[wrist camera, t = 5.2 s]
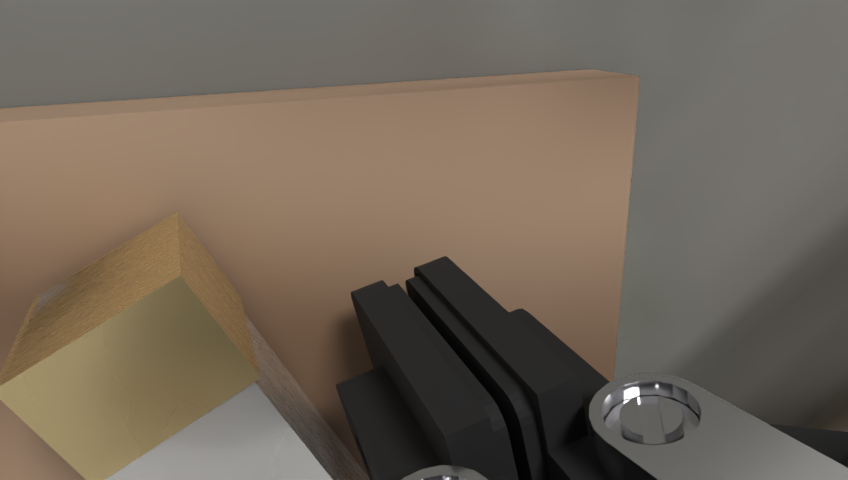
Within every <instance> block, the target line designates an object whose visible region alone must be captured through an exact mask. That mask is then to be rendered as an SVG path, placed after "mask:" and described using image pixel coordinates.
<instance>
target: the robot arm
mask: <svg viewBox="0 0 848 480" xmlns="http://www.w3.org/2000/svg"><path fill="white" fill-rule="evenodd" d="M405 283H406V289H407V293H408V295H407V293H406V292H405V291H404V290H403V289H402V287H401V286H400V285H399V284H398V283H397V284H395V285H392V286H389V287H388V286H387V284H386V283H385V282H384V281H383V280H381V281H378V282H376V283H373V284H370V285H368V286H365V287H362V288H360V289H357V290H355V291H352V292H351V298H352V302H353V305H354V308H355V312H356V315H357V318H358V321H359V324H360V327H361V331H362V334H363V337H364V340H365V343H366V346H367V350H368V353H369V356H370V359H371V362H372V365H373V369H371V370H369V371H366V372H364V373H361V374H359V375H357V376H354V377H352V378H349V379H347V380H345V381H342V382H340V383H337V384H336V388H337V391H338V394H339V397H340V400H341V403H342V406H343V409H344V412H345V415H346V417H347V420H348V423H349V426H350V429H351V431H352V434H353V437H354V440H355V442H356V445H357V448H358V450H359V453H360V455H361V458H362V460H363V463H364V465H365V468H366V470H367V473H368V475H369V478H370V480H848V432H841V431H831V430H821V429H811V428H802V427H792V426H782V425H772V424H767V423H765V422H763V421H761V420H759V419H757V418H756V417H754V416H752V415H750V414H748V413H746V412H745V411H743V410H741V409H739V408H737V407H735V406H734V405H732V404H730V403H728V402H726V401H724V400H723V399H721V398H719V397H717V396H715V395H713V394H712V393H710V392H708V391H706V390H704V389H702V388H701V387H699V386H697V385H695V384H693V383H691V382H689V381H686V380H684V379H681V378H679V377H676V376H671V375H666V374H660V373H638V374H634V375H629V376H624V377H621V378H618V379H616V380H614V381H612V382H609V381H608V380H607V379H606V378H605V377H604V376H602V375H601V374H600V373H599V372H598V371H596V370H595V369H594V368H593V367H592V366H591V365H589V364H588V363H587V362H586V361H585V360H584V359H582V358H581V357H580V356H579V355H578V354H577V353H575V352H574V351H573V350H572V349H571V348H570V347H568V346H567V345H566V344H565V343H564V342H563V341H561V340H560V339H559V338H558V337H557V336H556V335H554V334H553V333H552V332H551V331H550V330H549V329H547V328H546V327H545V326H544V325H543V324H542V323H540V322H539V321H538V320H537V319H536V318H535V317H533V316H532V315H531V314H530V313H529V312H527V311H526V310H524V309H516V310H514V311H511V312H508V311H507V310H506V309H504V308H503V307H502V306H501V305H500V304H499V303H498V302H497V301H496V300H495V299H493V298H492V297H491V296H490V295H489V294H488V293H487V292H486V291H485V290H483V289H482V288H481V287H480V286H479V285H478V284H477V283H476V282H475V281H474V280H472V279H471V278H470V277H469V276H468V275H467V274H466V273H465V272H464V271H462V270H461V269H460V268H459V267H458V266H457V265H456V264H455V263H454V262H453V261H451V260H450V259H449V258H448V257H446V256H444V257H441V258H439V259H436V260H433V261H431V262H428V263H425V264H423V265H420V266H418V267H415V268H414V277H413V278H410V279H408V280H406V282H405Z"/></svg>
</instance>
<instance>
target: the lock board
mask: <svg viewBox="0 0 848 480" xmlns="http://www.w3.org/2000/svg"><path fill="white" fill-rule="evenodd" d="M639 82H640V76H634V75H627V74H620V73H613V72H606V71H599V70H592V69H588V70H573V71H558V72H543V73H528V74H513V75H498V76H482V77H467V78H452V79H437V80H422V81H407V82H392V83H376V84H361V85H346V86H331V87H316V88H301V89H286V90H271V91H255V92H240V93H225V94H210V95H195V96H180V97H165V98H149V99H134V100H119V101H104V102H89V103H74V104H59V105H43V106H28V107H13V108H0V372H1V370H2V368H3V365H4V363H5V361H6V359H7V357H8V355H9V352H10V350H11V348H12V346H13V344H14V341H15V339H16V337H17V335H18V333H19V330H20V328H21V326H22V324H23V322H24V320H25V317H26V315H27V313H28V311H29V309H30V306H31V304H32V302H33V300H34V298H35V296H37V295H39V294H40V293H42V292H44V291H45V290H47V289H49V288H50V287H52V286H54V285H55V284H57V283H59V282H60V281H62V280H64V279H65V278H67V277H69V276H70V275H72V274H74V273H75V272H77V271H79V270H80V269H82V268H84V267H85V266H87V265H89V264H90V263H92V262H94V261H95V260H97V259H99V258H100V257H102V256H104V255H105V254H107V253H109V252H110V251H112V250H114V249H115V248H117V247H119V246H120V245H122V244H124V243H125V242H127V241H129V240H130V239H132V238H134V237H135V236H137V235H139V234H140V233H142V232H144V231H145V230H147V229H149V228H150V227H152V226H154V225H155V224H157V223H159V222H160V221H162V220H164V219H165V218H167V217H169V216H170V215H172V214H174V213H175V212H178V213H179V215H180V216H181V217H182V219H183V220H184V221H185V223H186V224H187V225H188V227H189V228H190V229H191V231H192V232H193V233H194V235H195V236H196V237H197V239H198V240H199V241H200V243H201V244H202V245H203V247H204V248H205V249H206V251H207V252H208V253H209V255H210V256H211V257H212V259H213V260H214V261H215V263H216V264H217V265H218V267H219V268H220V269H221V271H222V272H223V273H224V275H225V276H226V277H227V279H228V280H229V281H230V283H231V284H232V285H233V287H234V288H235V289H236V291H237V292H238V293H239V295H240V297H241V301H242V305H243V309H244V312H245V315H246V316H247V317H248V319H249V320H250V321H251V323H252V324H253V325H254V327H255V328H256V329H257V331H258V332H259V333H260V335H261V336H262V337H263V339H264V340H265V341H266V343H267V344H268V345H269V347H270V348H271V349H272V350H273V352H274V353H275V354H276V356H277V357H278V358H279V360H280V361H281V362H282V364H283V365H284V366H285V368H286V369H287V370H288V372H289V373H290V374H291V376H292V377H293V378H294V380H295V381H296V382H297V384H298V385H299V386H300V388H301V389H302V390H303V391H304V393H305V394H306V395H307V397H308V398H309V399H310V401H311V402H312V403H313V405H314V406H315V407H316V409H317V410H318V411H319V413H320V414H321V415H322V417H323V418H324V419H325V421H326V422H327V423H328V425H329V426H330V427H331V429H332V430H333V431H334V432H335V434H336V435H337V436H338V438H339V439H340V440H341V442H342V443H343V444H344V446H345V447H346V448H347V450H348V451H349V452H350V454H351V455H352V456H353V458H354V459H355V460H356V462H357V463H358V464H359V466H360V467H361V468H362V470H363V471H364V472H365V473H366V475H367V476H368V477H369V475H368V473H367V470H366V468H365V465H364V463H363V460H362V458H361V455H360V453H359V450H358V448H357V445H356V442H355V440H354V437H353V434H352V431H351V429H350V426H349V423H348V420H347V417H346V415H345V412H344V409H343V406H342V403H341V400H340V397H339V394H338V391H337V388H336V384H337V383H340V382H342V381H345V380H347V379H349V378H352V377H354V376H357V375H359V374H361V373H364V372H366V371H369V370H371V369H373V365H372V362H371V359H370V356H369V353H368V350H367V346H366V343H365V340H364V337H363V334H362V331H361V327H360V324H359V321H358V318H357V315H356V312H355V308H354V305H353V302H352V298H351V292H352V291H355V290H357V289H360V288H362V287H365V286H368V285H370V284H373V283H376V282H378V281H381V280H383V281H384V282H385V283H386V284H387V286H388V287H389V286H392V285H395V284H397V283H398V284H399V285H400V286H401V287H402V289H403V290H404V291H405V292H406V293H407V289H406V283H405V282H406V280H408V279H410V278H413V277H414V268H415V267H418V266H420V265H423V264H425V263H428V262H431V261H433V260H436V259H439V258H441V257H444V256H446V257H448V258H449V259H450V260H451V261H453V262H454V263H455V264H456V265H457V266H458V267H459V268H460V269H461V270H462V271H464V272H465V273H466V274H467V275H468V276H469V277H470V278H471V279H472V280H474V281H475V282H476V283H477V284H478V285H479V286H480V287H481V288H482V289H483V290H485V291H486V292H487V293H488V294H489V295H490V296H491V297H492V298H493V299H495V300H496V301H497V302H498V303H499V304H500V305H501V306H502V307H503V308H504V309H506V310H507V311H508V312H511V311H514V310H516V309H524V310H526V311H527V312H529V313H530V314H531V315H532V316H533V317H535V318H536V319H537V320H538V321H539V322H540V323H542V324H543V325H544V326H545V327H546V328H547V329H549V330H550V331H551V332H552V333H553V334H554V335H556V336H557V337H558V338H559V339H560V340H561V341H563V342H564V343H565V344H566V345H567V346H568V347H570V348H571V349H572V350H573V351H574V352H575V353H577V354H578V355H579V356H580V357H581V358H582V359H584V360H585V361H586V362H587V363H588V364H589V365H591V366H592V367H593V368H594V369H595V370H596V371H598V372H599V373H600V374H601V375H602V376H604V377H605V378H606V379H607V380H608V381H609V382H612V381H613V380H614V369H615V357H616V346H617V334H618V323H619V311H620V300H621V289H622V277H623V266H624V254H625V243H626V231H627V220H628V208H629V197H630V186H631V174H632V163H633V151H634V140H635V128H636V117H637V105H638V94H639ZM407 295H408V293H407ZM369 479H370V478H369ZM0 480H86V479H85V478H84V477H83V476H81V475H80V474H79V473H78V472H77V471H76V470H75V469H74V468H73V467H72V466H71V465H70V464H69V463H68V462H66V461H65V460H64V459H63V458H62V457H61V456H60V455H59V454H58V453H57V452H56V451H55V450H54V449H53V448H51V447H50V446H49V445H48V444H47V443H46V442H45V441H44V440H43V439H42V438H41V437H40V436H39V435H38V434H36V433H35V432H34V431H33V430H32V429H31V428H30V427H29V426H28V425H27V424H26V423H25V422H24V421H23V420H21V419H20V418H19V417H18V416H17V415H16V414H15V413H14V412H13V411H12V410H11V409H10V408H9V407H8V406H6V405H5V404H4V403H3V402H2V401H1V400H0Z"/></svg>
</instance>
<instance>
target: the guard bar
mask: <svg viewBox="0 0 848 480" xmlns="http://www.w3.org/2000/svg"><path fill="white" fill-rule="evenodd" d="M0 400H1V401H2V402H3V403H4V404H5V405H6V406H8V407H9V408H10V409H11V410H12V411H13V412H14V413H15V414H16V415H17V416H18V417H19V418H20V419H21V420H23V421H24V422H25V423H26V424H27V425H28V426H29V427H30V428H31V429H32V430H33V431H34V432H35V433H36V434H38V435H39V436H40V437H41V438H42V439H43V440H44V441H45V442H46V443H47V444H48V445H49V446H50V447H51V448H53V449H54V450H55V451H56V452H57V453H58V454H59V455H60V456H61V457H62V458H63V459H64V460H65V461H66V462H68V463H69V464H70V465H71V466H72V467H73V468H74V469H75V470H76V471H77V472H78V473H79V474H80V475H81V476H83V477H84V478H85V479H86V480H370V479H369V477H368V476H367V475H366V473H365V472H364V471H363V470H362V468H361V467H360V466H359V464H358V463H357V462H356V460H355V459H354V458H353V456H352V455H351V454H350V452H349V451H348V450H347V448H346V447H345V446H344V444H343V443H342V442H341V440H340V439H339V438H338V436H337V435H336V434H335V432H334V431H333V430H332V429H331V427H330V426H329V425H328V423H327V422H326V421H325V419H324V418H323V417H322V415H321V414H320V413H319V411H318V410H317V409H316V407H315V406H314V405H313V403H312V402H311V401H310V399H309V398H308V397H307V395H306V394H305V393H304V391H303V390H302V389H301V388H300V386H299V385H298V384H297V382H296V381H295V380H294V378H293V377H292V376H291V374H290V373H289V372H288V370H287V369H286V368H285V366H284V365H283V364H282V362H281V361H280V360H279V358H278V357H277V356H276V354H275V353H274V352H273V350H272V349H271V348H270V347H269V345H268V344H267V343H266V341H265V340H264V339H263V337H262V336H261V335H260V333H259V332H258V331H257V329H256V328H255V327H254V325H253V324H252V323H251V321H250V320H249V319H248V317H247V316H246V315H245V312H244V309H243V305H242V301H241V297H240V295H239V293H238V292H237V291H236V289H235V288H234V287H233V285H232V284H231V283H230V281H229V280H228V279H227V277H226V276H225V275H224V273H223V272H222V271H221V269H220V268H219V267H218V265H217V264H216V263H215V261H214V260H213V259H212V257H211V256H210V255H209V253H208V252H207V251H206V249H205V248H204V247H203V245H202V244H201V243H200V241H199V240H198V239H197V237H196V236H195V235H194V233H193V232H192V231H191V229H190V228H189V227H188V225H187V224H186V223H185V221H184V220H183V219H182V217H181V216H180V215H179V213H178V212H175V213H174V214H172V215H170V216H169V217H167V218H165V219H164V220H162V221H160V222H159V223H157V224H155V225H154V226H152V227H150V228H149V229H147V230H145V231H144V232H142V233H140V234H139V235H137V236H135V237H134V238H132V239H130V240H129V241H127V242H125V243H124V244H122V245H120V246H119V247H117V248H115V249H114V250H112V251H110V252H109V253H107V254H105V255H104V256H102V257H100V258H99V259H97V260H95V261H94V262H92V263H90V264H89V265H87V266H85V267H84V268H82V269H80V270H79V271H77V272H75V273H74V274H72V275H70V276H69V277H67V278H65V279H64V280H62V281H60V282H59V283H57V284H55V285H54V286H52V287H50V288H49V289H47V290H45V291H44V292H42V293H40V294H39V295H37V296H35V298H34V300H33V302H32V304H31V306H30V309H29V311H28V313H27V315H26V317H25V320H24V322H23V324H22V326H21V328H20V330H19V333H18V335H17V337H16V339H15V341H14V344H13V346H12V348H11V350H10V352H9V355H8V357H7V359H6V361H5V363H4V365H3V368H2V370H1V372H0Z"/></svg>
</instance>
